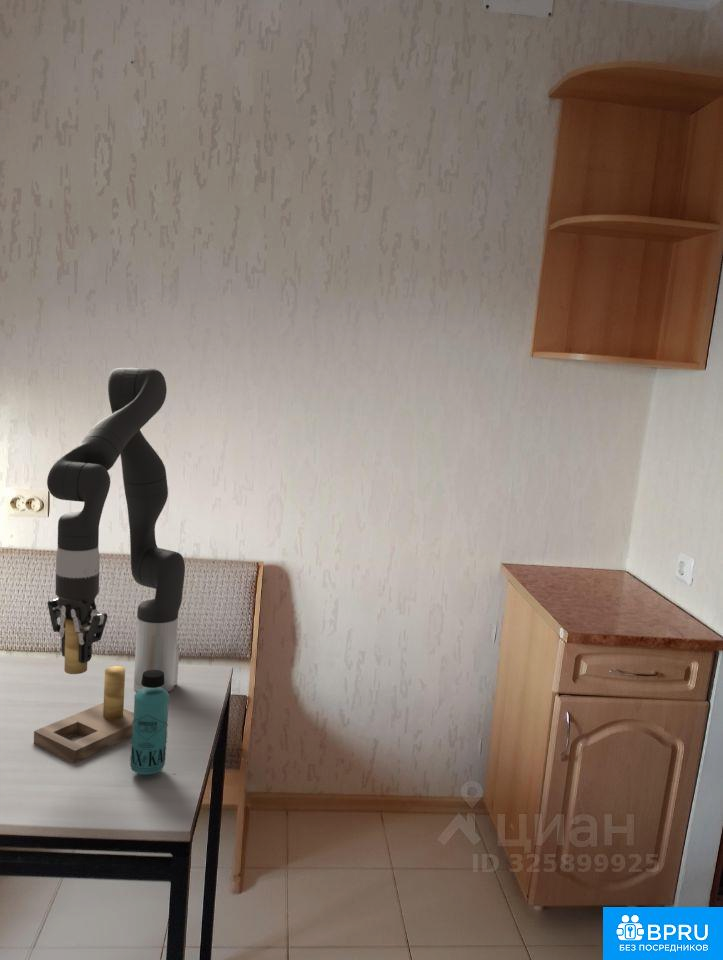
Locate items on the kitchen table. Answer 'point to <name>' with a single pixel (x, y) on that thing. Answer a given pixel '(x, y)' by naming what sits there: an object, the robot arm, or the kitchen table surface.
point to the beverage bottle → (149, 724)
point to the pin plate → (91, 723)
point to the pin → (73, 649)
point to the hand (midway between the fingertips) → (76, 658)
